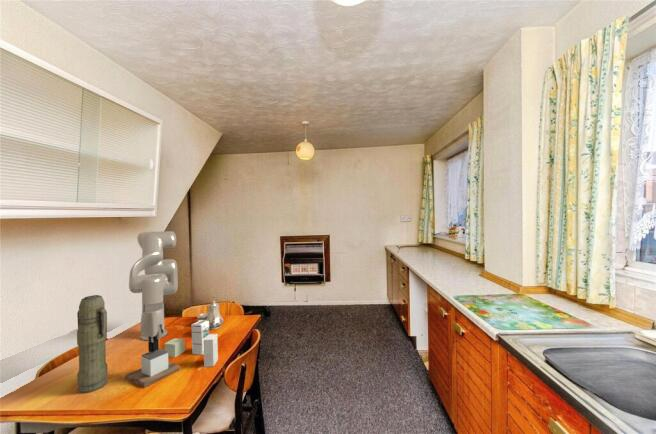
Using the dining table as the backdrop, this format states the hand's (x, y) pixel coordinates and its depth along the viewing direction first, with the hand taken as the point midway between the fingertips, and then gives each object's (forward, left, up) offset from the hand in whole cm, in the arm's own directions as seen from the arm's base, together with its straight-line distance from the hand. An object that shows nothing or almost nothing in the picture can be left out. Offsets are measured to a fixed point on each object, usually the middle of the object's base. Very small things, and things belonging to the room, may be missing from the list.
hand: (153, 350), depth 114 cm
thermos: (-13, -16, -10) cm, 23 cm away
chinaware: (-23, +44, -10) cm, 51 cm away
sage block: (-10, +15, -10) cm, 21 cm away
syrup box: (0, +22, -10) cm, 24 cm away
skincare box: (+14, +17, -10) cm, 24 cm away
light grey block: (+1, 0, -1) cm, 1 cm away
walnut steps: (-1, 0, -10) cm, 10 cm away
